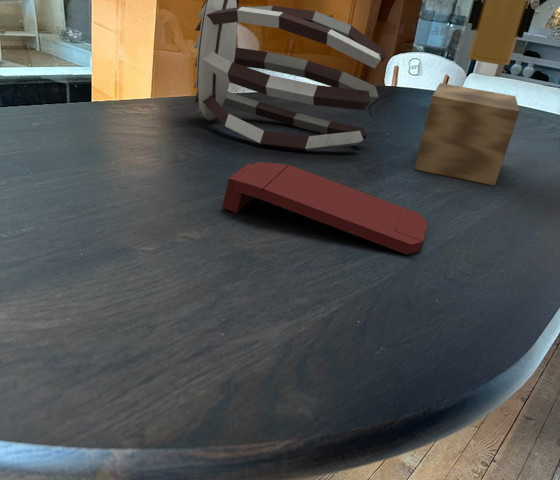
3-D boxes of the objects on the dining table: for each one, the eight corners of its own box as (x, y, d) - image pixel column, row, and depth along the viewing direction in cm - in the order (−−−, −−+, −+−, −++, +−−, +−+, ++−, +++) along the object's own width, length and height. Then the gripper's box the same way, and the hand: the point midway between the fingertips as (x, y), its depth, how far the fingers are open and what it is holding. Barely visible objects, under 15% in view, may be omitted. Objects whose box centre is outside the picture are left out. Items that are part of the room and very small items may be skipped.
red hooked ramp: (413, 249, 81) (247, 186, 83) (428, 216, 78) (255, 151, 80) (405, 284, 71) (216, 212, 73) (422, 248, 68) (224, 173, 70)
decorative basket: (214, 103, 126) (371, 147, 121) (156, 127, 104) (344, 182, 99) (229, -32, 111) (407, 11, 106) (165, -36, 90) (385, 18, 85)
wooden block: (494, 162, 115) (515, 96, 108) (495, 185, 101) (519, 111, 94) (423, 148, 118) (439, 82, 111) (414, 169, 103) (432, 95, 96)
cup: (508, 62, 100) (527, 0, 95) (509, 66, 94) (529, 0, 89) (468, 56, 101) (484, -6, 96) (467, 59, 96) (484, -6, 90)
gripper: (475, -118, 84) (441, 26, 94) (602, -103, 81) (553, 43, 91) (476, -110, 90) (444, 24, 100) (594, -96, 87) (548, 40, 97)
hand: (496, 32), depth 95 cm, fingers closed on cup, 6 cm apart
